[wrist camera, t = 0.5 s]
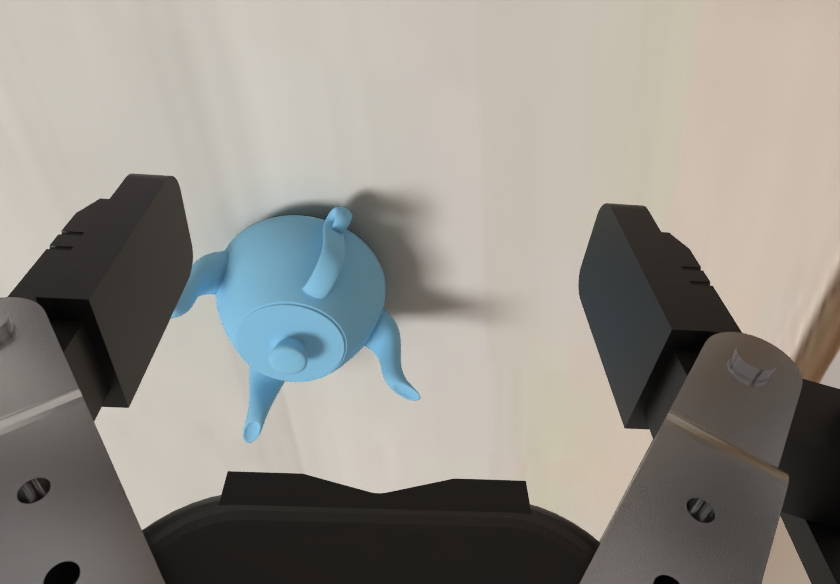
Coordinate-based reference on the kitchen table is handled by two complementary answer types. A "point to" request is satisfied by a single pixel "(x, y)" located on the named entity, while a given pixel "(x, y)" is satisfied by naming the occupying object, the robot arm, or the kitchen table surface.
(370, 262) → the teapot
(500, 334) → the kitchen table surface
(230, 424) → the kitchen table surface
